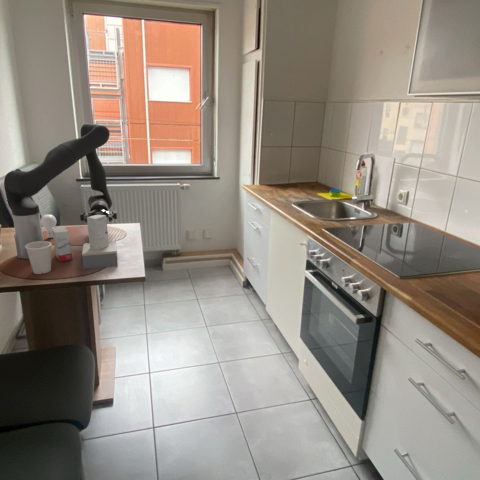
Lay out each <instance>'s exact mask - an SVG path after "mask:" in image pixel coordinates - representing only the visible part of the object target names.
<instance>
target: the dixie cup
mask: <svg viewBox="0 0 480 480" xmlns="http://www.w3.org/2000/svg"><path fill="white" fill-rule="evenodd" d="M52 245H53V244H52V242H50V241H48V240H44V241H37V242H32V243H29V244H27V245H26V246H25V248H26V249H27V253H28V256H29V259H28V260H29V262H30V265H31V269H32V272H33V274H35V275H36V274H37V275H41V274H42V273H43V274H46V273H49V272H51V271H52ZM43 274H42V275H43Z"/></svg>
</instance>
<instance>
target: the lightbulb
mask: <svg viewBox="0 0 480 480" xmlns="http://www.w3.org/2000/svg"><path fill="white" fill-rule="evenodd" d="M40 219H41V226H42V227H43V228H44V229H45V232H46V236H47V238H48V239H53V232H52V228H53V227H56V225H57V219H56V217H55V216H54V215H53V214H49V213H48V214H47V213H46V214H44V215H42V216H41V217H40Z"/></svg>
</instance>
